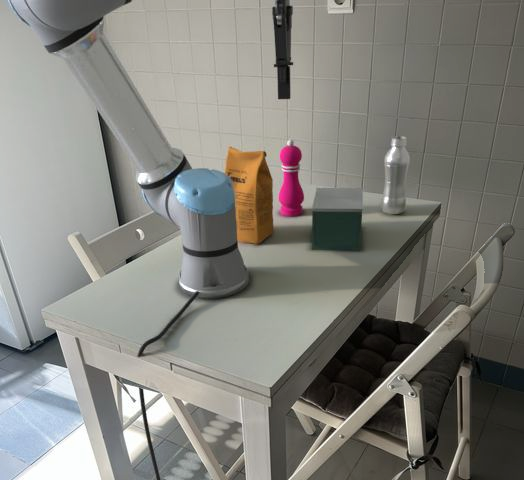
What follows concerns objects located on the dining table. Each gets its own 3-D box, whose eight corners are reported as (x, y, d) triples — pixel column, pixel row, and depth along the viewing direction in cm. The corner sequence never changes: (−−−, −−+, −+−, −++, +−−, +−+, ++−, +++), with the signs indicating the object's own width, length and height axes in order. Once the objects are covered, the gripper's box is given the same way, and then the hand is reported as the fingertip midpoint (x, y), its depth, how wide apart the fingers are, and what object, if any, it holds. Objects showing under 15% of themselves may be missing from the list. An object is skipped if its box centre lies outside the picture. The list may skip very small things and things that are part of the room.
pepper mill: (300, 218, 148) (299, 143, 137) (275, 216, 150) (273, 142, 139) (306, 209, 154) (307, 136, 142) (283, 207, 156) (281, 136, 145)
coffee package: (242, 225, 145) (237, 141, 133) (279, 234, 139) (277, 147, 126) (218, 237, 139) (210, 150, 126) (256, 247, 132) (251, 156, 120)
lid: (362, 212, 122) (362, 208, 121) (312, 211, 124) (312, 208, 123) (362, 191, 134) (362, 188, 134) (316, 190, 136) (316, 187, 136)
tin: (359, 250, 128) (362, 211, 123) (311, 249, 130) (312, 210, 124) (360, 228, 140) (362, 191, 134) (316, 227, 142) (316, 191, 136)
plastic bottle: (406, 216, 146) (415, 140, 134) (382, 217, 146) (388, 141, 135) (402, 208, 151) (410, 134, 140) (378, 209, 151) (384, 135, 140)
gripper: (296, -30, 102) (297, 103, 115) (303, -29, 113) (303, 93, 126) (258, -28, 103) (263, 104, 117) (268, -27, 114) (272, 94, 127)
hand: (284, 98), depth 121 cm, fingers closed
